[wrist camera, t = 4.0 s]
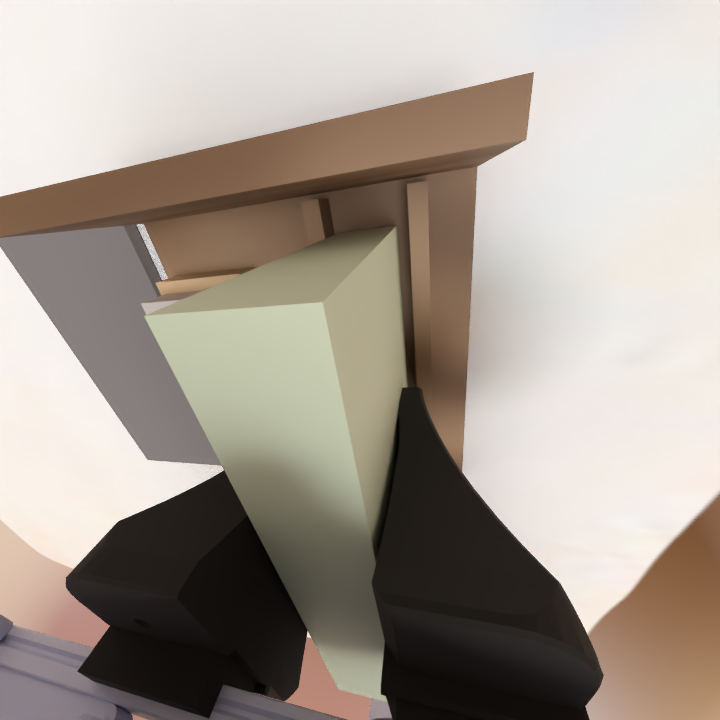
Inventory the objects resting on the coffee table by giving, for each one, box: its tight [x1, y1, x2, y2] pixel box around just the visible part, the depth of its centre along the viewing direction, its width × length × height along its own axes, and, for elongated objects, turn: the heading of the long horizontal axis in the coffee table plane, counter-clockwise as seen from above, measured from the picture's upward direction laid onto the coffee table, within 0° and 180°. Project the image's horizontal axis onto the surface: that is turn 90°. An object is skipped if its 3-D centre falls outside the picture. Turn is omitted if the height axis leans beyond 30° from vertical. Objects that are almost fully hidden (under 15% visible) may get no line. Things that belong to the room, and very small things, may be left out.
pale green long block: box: [144, 225, 408, 702], centre depth 9 cm, size 12×2×8 cm, turn 8°
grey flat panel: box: [0, 224, 221, 465], centre depth 17 cm, size 16×8×1 cm, turn 8°
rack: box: [0, 72, 534, 472], centre depth 12 cm, size 16×13×6 cm
